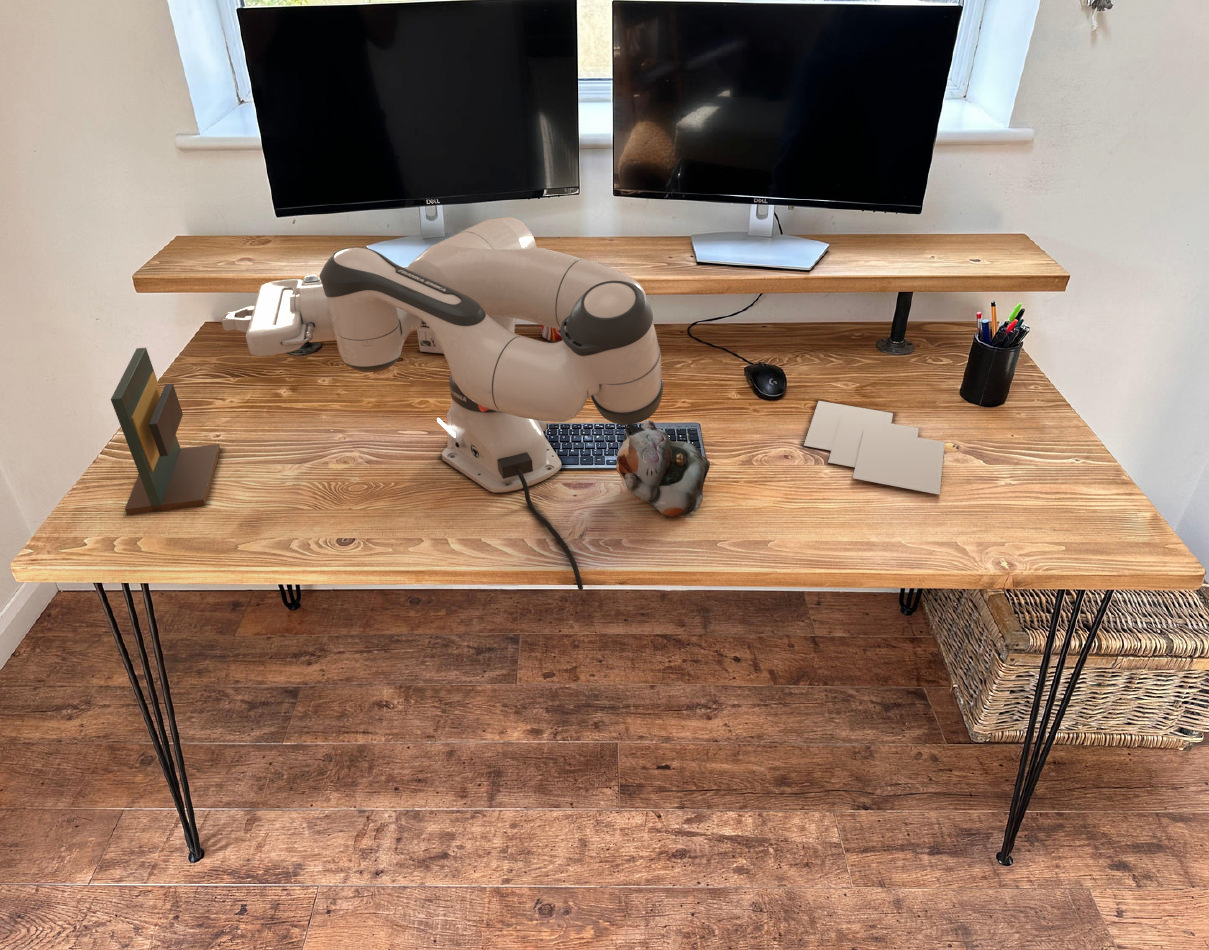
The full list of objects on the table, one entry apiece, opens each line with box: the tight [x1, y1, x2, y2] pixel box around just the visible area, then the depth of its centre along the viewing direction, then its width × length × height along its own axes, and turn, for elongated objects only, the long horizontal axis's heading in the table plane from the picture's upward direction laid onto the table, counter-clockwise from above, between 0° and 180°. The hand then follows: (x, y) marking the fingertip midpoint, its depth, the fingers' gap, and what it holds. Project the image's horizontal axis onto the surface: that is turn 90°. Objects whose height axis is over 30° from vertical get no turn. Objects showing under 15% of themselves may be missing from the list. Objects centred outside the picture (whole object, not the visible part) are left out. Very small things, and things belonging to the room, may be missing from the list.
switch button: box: [149, 383, 184, 456], centre depth 143 cm, size 1×13×6 cm, turn 11°
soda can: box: [540, 324, 562, 343], centre depth 190 cm, size 7×7×12 cm
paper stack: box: [803, 400, 946, 496], centre depth 156 cm, size 23×25×1 cm
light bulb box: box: [416, 320, 444, 355], centre depth 189 cm, size 11×7×11 cm, turn 168°
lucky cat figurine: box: [615, 419, 711, 518], centre depth 142 cm, size 15×12×14 cm
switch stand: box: [110, 347, 222, 516], centre depth 144 cm, size 12×17×21 cm
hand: (223, 321), depth 136 cm, fingers closed
